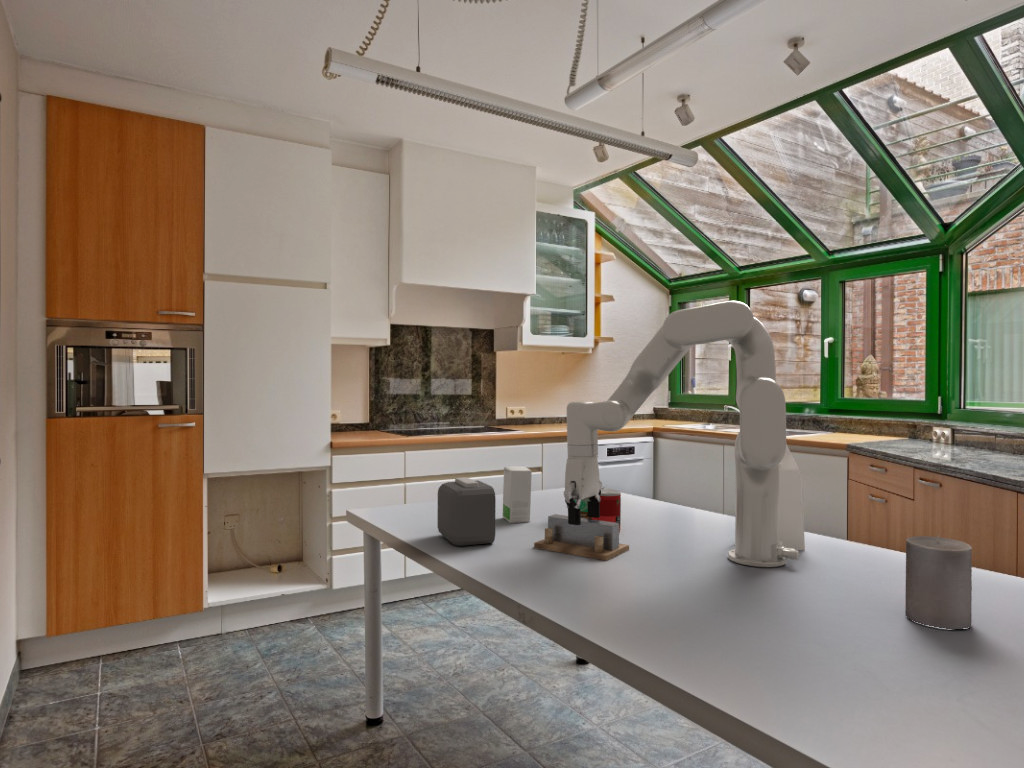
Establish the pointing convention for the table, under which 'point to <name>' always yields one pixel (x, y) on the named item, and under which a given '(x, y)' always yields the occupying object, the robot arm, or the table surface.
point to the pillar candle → (938, 582)
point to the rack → (579, 547)
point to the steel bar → (584, 532)
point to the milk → (790, 504)
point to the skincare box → (517, 494)
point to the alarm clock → (466, 512)
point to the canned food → (610, 506)
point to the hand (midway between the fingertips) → (584, 520)
